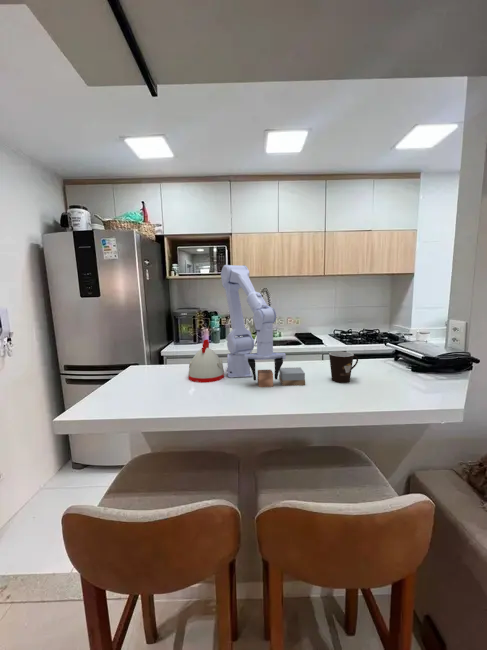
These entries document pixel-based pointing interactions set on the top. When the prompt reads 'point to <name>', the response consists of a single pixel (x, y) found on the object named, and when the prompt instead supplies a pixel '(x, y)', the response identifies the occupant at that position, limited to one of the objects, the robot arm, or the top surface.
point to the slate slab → (292, 373)
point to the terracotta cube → (265, 378)
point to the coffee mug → (341, 366)
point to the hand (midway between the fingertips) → (265, 379)
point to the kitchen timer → (206, 366)
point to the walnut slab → (291, 382)
